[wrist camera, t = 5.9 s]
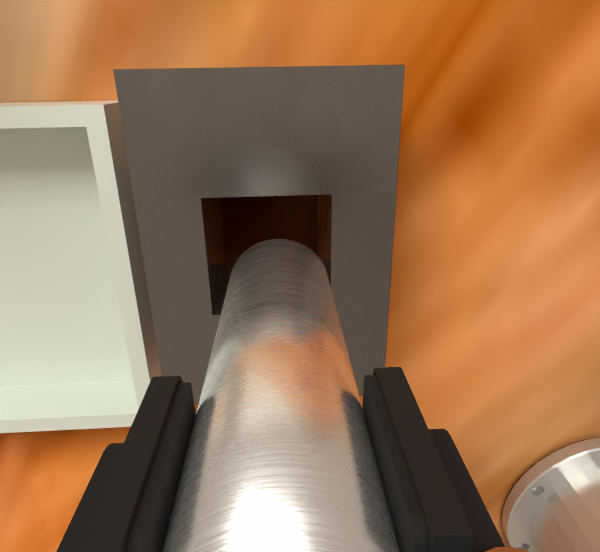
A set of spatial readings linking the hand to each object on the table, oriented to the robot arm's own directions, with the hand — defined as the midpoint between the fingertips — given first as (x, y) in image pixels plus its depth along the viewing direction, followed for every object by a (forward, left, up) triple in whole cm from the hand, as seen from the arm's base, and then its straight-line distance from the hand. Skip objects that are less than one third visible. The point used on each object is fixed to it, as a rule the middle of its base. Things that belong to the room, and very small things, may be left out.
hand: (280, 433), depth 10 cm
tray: (-2, +14, -16) cm, 21 cm away
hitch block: (0, 0, -16) cm, 16 cm away
